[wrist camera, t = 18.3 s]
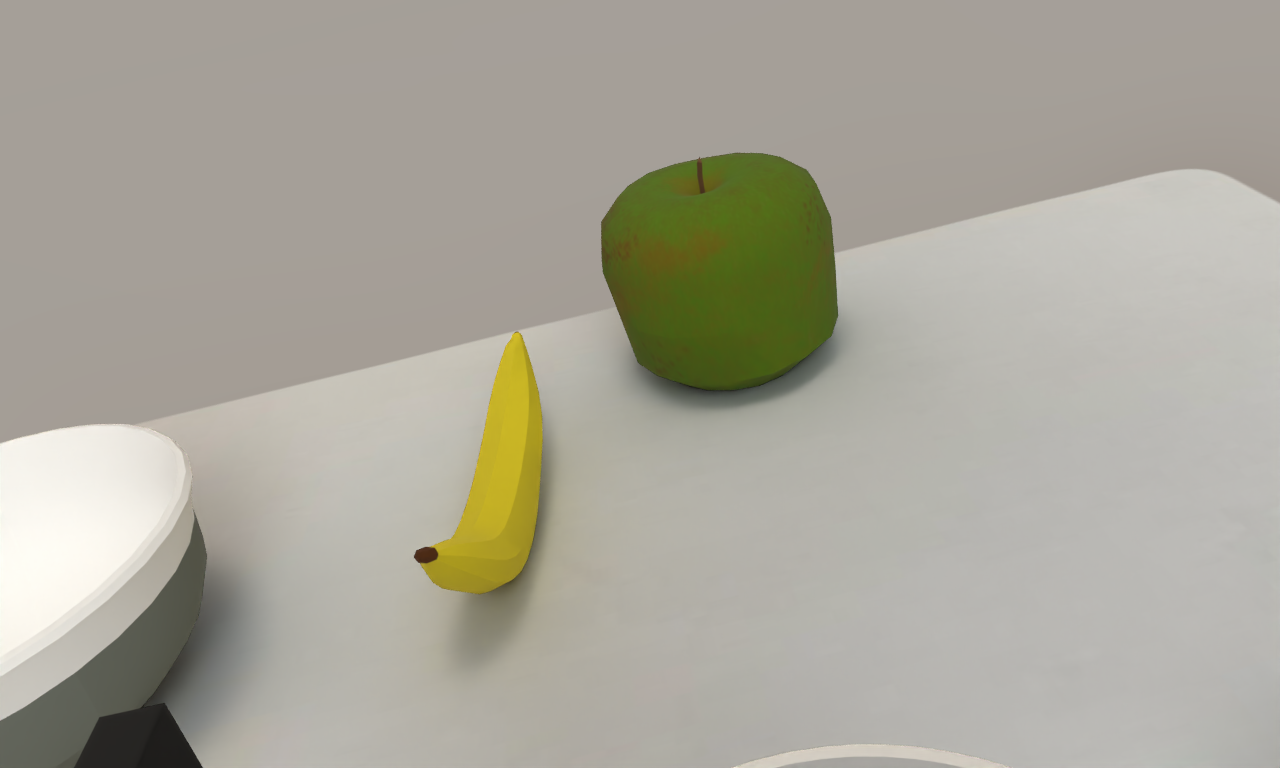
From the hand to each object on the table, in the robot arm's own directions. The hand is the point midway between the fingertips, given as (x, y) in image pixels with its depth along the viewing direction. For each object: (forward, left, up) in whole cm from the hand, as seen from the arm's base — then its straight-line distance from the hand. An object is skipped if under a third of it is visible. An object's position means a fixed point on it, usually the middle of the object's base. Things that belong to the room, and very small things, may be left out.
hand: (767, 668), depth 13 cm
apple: (+37, -20, -19) cm, 46 cm away
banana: (+32, -5, -19) cm, 38 cm away
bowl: (+35, +15, -19) cm, 42 cm away
